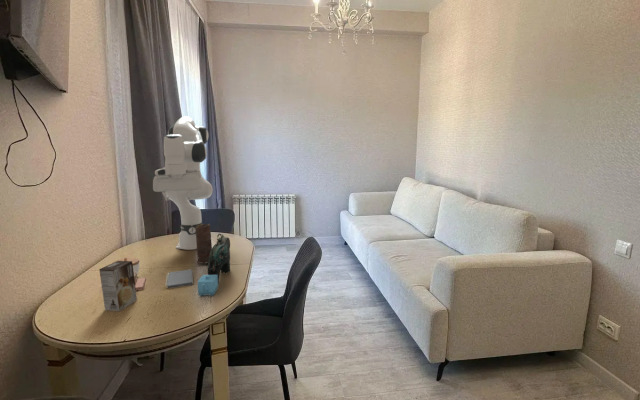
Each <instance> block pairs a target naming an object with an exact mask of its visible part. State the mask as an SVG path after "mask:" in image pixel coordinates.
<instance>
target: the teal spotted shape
mask: <svg viewBox="0 0 640 400" xmlns="http://www.w3.org/2000/svg"><path fill="white" fill-rule="evenodd" d="M216 236H217V238H216V240H217V241H216V243H215V244H214V245H212V250H211V252H210V255H209V259H208V263H207V275H218V285H219V284H220V275H221V274H229V272H230V271H231V263H230V261H231V250H230V248H231V240H230V238H229V237H226V236H224V234H221V233H218V234H217V235H216ZM219 236H220V237H219Z"/></svg>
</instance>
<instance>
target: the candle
mask: <svg viewBox="0 0 640 400" xmlns="http://www.w3.org/2000/svg"><path fill="white" fill-rule="evenodd" d="M195 230H196V244H197V249H196V254H197V255H196V256H197V263H198V264H208V259H209V255H210V252H211V250H212V248H213V244H212V232H211V224H210V223H203V224H200V225H198V226H196V227H195Z"/></svg>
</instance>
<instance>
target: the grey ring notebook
mask: <svg viewBox="0 0 640 400" xmlns="http://www.w3.org/2000/svg"><path fill="white" fill-rule="evenodd" d="M193 278H194V276H193V269H192V268H191V269H184V270H177V271H170V272H168V273H166V278H165V279H166V280H165V288H167V289H168V290H169V289H174V288H181V287H187V286H192V285H194V281H193V280H194V279H193Z"/></svg>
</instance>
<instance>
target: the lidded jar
mask: <svg viewBox="0 0 640 400" xmlns="http://www.w3.org/2000/svg"><path fill="white" fill-rule="evenodd" d="M116 261H132V264H133V272H136V276H137V274H138V273H139V270H140V259H139V258H137V257H124V258H120V259H117V260H114V261H112V263H114V262H116Z"/></svg>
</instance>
